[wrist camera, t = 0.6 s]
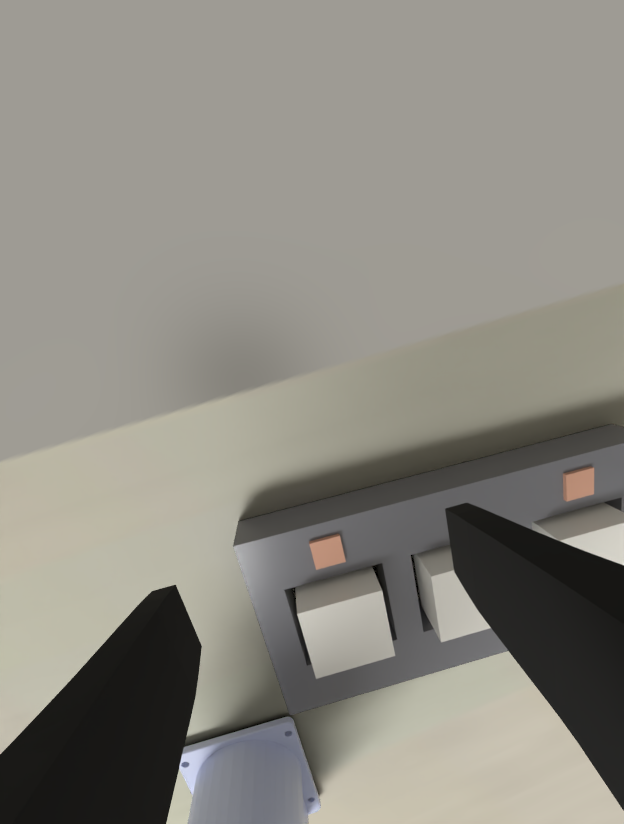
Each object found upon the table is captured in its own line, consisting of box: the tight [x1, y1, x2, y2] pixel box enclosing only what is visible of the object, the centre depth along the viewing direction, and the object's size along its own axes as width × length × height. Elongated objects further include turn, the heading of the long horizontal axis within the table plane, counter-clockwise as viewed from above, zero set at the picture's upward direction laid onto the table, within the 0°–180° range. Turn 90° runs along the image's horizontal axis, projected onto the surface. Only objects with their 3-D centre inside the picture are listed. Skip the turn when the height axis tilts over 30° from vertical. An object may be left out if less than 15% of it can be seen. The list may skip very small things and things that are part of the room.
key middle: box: [413, 545, 491, 642], centre depth 18 cm, size 4×4×2 cm
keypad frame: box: [233, 424, 624, 715], centre depth 19 cm, size 12×23×2 cm, turn 103°
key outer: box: [532, 502, 624, 565], centre depth 18 cm, size 4×4×2 cm
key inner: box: [295, 566, 395, 679], centre depth 17 cm, size 4×4×2 cm
